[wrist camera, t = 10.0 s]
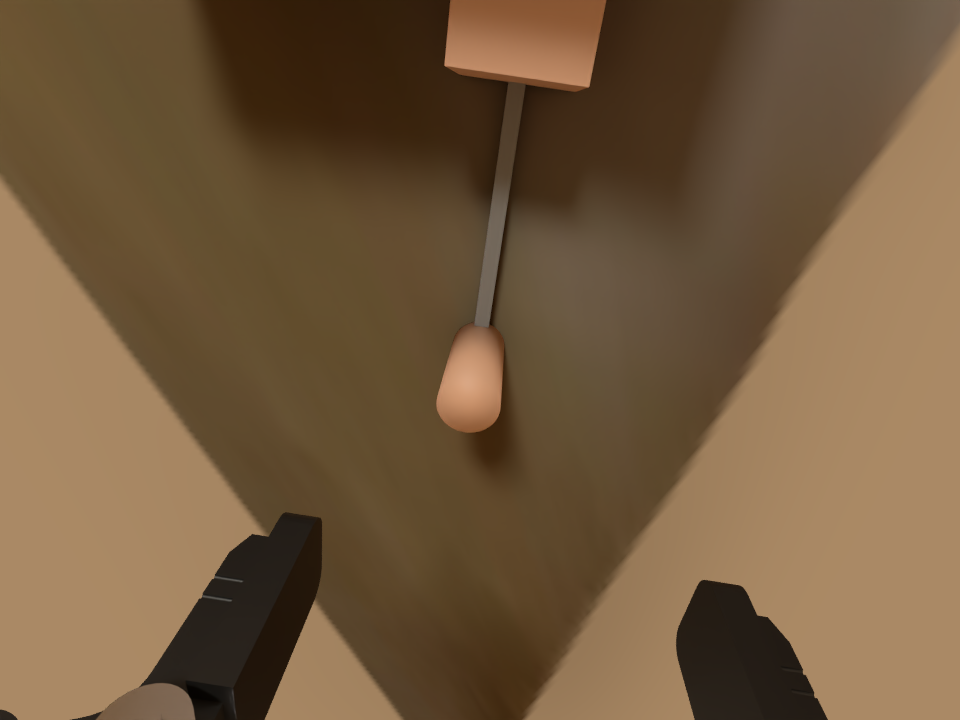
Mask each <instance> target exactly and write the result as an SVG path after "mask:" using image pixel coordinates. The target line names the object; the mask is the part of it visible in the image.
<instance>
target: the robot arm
mask: <svg viewBox="0 0 960 720" xmlns="http://www.w3.org/2000/svg"><path fill="white" fill-rule="evenodd" d="M321 569H322V520H321V518H318V517H312V516H306V515H299V514H293V513H287V512H285V513H283V514H282V516H281V517H280V518H279V520H278V522H277V523H276V525H275V527H274V529H273V530H272V532H271V534H270V536H269V537H267V536H260V535H254V534H252V535H251V536H249V537H248V538H247V539H246V540H244V541H243V542H242V543H240V544H239V545H238V546H237V547H236V548H234V549H233V550H232V551H230V552H229V554H228V555H227V557H226V558H225V560H224V561H223V563H222V565H221V566H220V568H219V569H218V571H217V573H216V574H215V577H214V579H212V580H211V582H210V583H209V585H208V586H207V588H206V589H205V591H204V592H203V595H202V598H201V599H199V600H198V602H197V603H196V605H195V606H194V608H193V609H192V611H191V612H190V614H189V615H188V617H187V619H186V620H185V622H184V623H183V625H182V626H181V628H180V629H179V631H178V633H177V634H176V635H175V637H174V639H173V640H172V642H171V643H170V645H169V646H168V648H167V649H166V651H165V652H164V654H163V656H162V657H161V659H160V660H159V662H158V663H157V665H156V666H155V668H154V669H153V671H152V672H151V674H150V675H149V676H148V678H147V679H146V680H145V681H144V683H142V684H141V686H140V687H139V688H136V689H134V690H132V691H130V692H128V693H126V694H124V695H123V696H121V697H119V698H118V699H117V700H115V701H114V702H113V703H111V704H110V705H109V706H108V707H107V708H106V709H105V710H104V711H102V712H99V713H96V714H93V715H91V716H86V717H82V718H78V719H72V720H265V717H266V715H267V713H268V710H269V708H270V705H271V703H272V700H273V698H274V696H275V693H276V691H277V688H278V686H279V684H280V681H281V679H282V676H283V674H284V672H285V669H286V667H287V665H288V662H289V660H290V657H291V655H292V652H293V650H294V648H295V645H296V643H297V640H298V638H299V636H300V633H301V631H302V629H303V626H304V624H305V621H306V619H307V616H308V614H309V611H310V609H311V607H312V604H313V602H314V600H315V597H316V594H317V590H318V587H319V582H320V577H321ZM676 649H677V656H678V661H679V665H680V668H681V672H682V675H683V679H684V683H685V686H686V690H687V693H688V697H689V701H690V704H691V708H692V711H693V715H694V718H695V720H828V719H827V717H826V715H825V713H824V711H823V709H822V707H821V705H820V703H819V701H818V699H817V698H815V697H814V691H813V689H812V687H811V685H810V683H809V681H808V679H807V677H806V675H803V669H802V667H801V665H800V663H799V661H798V659H797V657H796V655H795V653H794V651H793V648H792V646H791V644H790V643H789V641H788V640H787V639H786V638H785V637H784V635H783V634H782V633H781V632H780V631H779V630H778V629H777V627H776V626H775V625H774V624H773V623H772V622H771V621H770V620H769V618H768V617H762V616H757V614H756V612H755V610H754V608H753V605H752V603H751V601H750V599H749V596H748V594H747V592H746V591H745V590H744V588H743V587H741V586H739V585H733V584H727V583H721V582H714V581H708V580H702V581H701V582H700V583H699V584H698V586H697V588H696V590H695V592H694V594H693V597H692V599H691V601H690V603H689V605H688V607H687V610H686V612H685V614H684V616H683V618H682V621H681V623H680V625H679V628H678V631H677V639H676ZM0 720H17V718H16V717H15V716H14V715H13V714H11V713H9V712H7V711H4V710H0Z"/></svg>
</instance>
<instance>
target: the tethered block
mask: <svg viewBox="0 0 960 720" xmlns="http://www.w3.org/2000/svg"><path fill="white" fill-rule="evenodd" d="M605 5H606V0H450V11H449V22H448V33H447V43H446V54H445V65H444V66H446V67H447V68H449V69H451V70H452V71H454V72H456V73H457V74H459V75H465V76H471V77H478V78H485V79H491V80H498V81H505V82H508V88H507V96H506V103H505V110H504V117H503V124H502V131H501V138H500V146H499V153H498V160H497V167H496V174H495V181H494V188H493V196H492V203H491V210H490V217H489V224H488V231H487V238H486V246H485V253H484V260H483V267H482V274H481V281H480V288H479V296H478V303H477V310H476V317H475V322H472V323H469V324H466V325H465V326H463V327H462V328H460V329H459V331H458V332H457V333H456V335H455V337H454V341H453V344H452V348H451V351H450V355H449V358H448V362H447V365H446V369H445V372H444V376H443V379H442V383H441V386H440V390H439V393H438V397H437V410H438V413H439V415H440V417H441V418H442V420H443V421H444V422H445V423H446V424H447V425H449V426H450V427H452V428H453V429H455V430H458V431H461V432H468V433H472V432H479V431H482V430H485V429H486V428H488V427H490V426H491V425H492V424H493V423H494V422H495V421H496V419H497V418H498V416H499V413H500V408H501V393H502V377H503V361H504V340H503V337H502V335H501V334H500V332H499V331H498V330H497V329H496V328H495V327H493V326H492V325H490V324H489V321H490V315H491V308H492V302H493V295H494V289H495V282H496V276H497V269H498V263H499V256H500V250H501V243H502V236H503V230H504V223H505V217H506V210H507V204H508V197H509V191H510V184H511V178H512V171H513V164H514V158H515V151H516V145H517V138H518V132H519V125H520V119H521V112H522V106H523V99H524V93H525V86H526V85H532V86H538V87H545V88H552V89H558V90H565V91H572V92H577V91H580V90H583V89H586V88H589V85H590V80H591V75H592V70H593V65H594V60H595V55H596V50H597V45H598V40H599V35H600V30H601V25H602V20H603V15H604V10H605Z"/></svg>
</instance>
